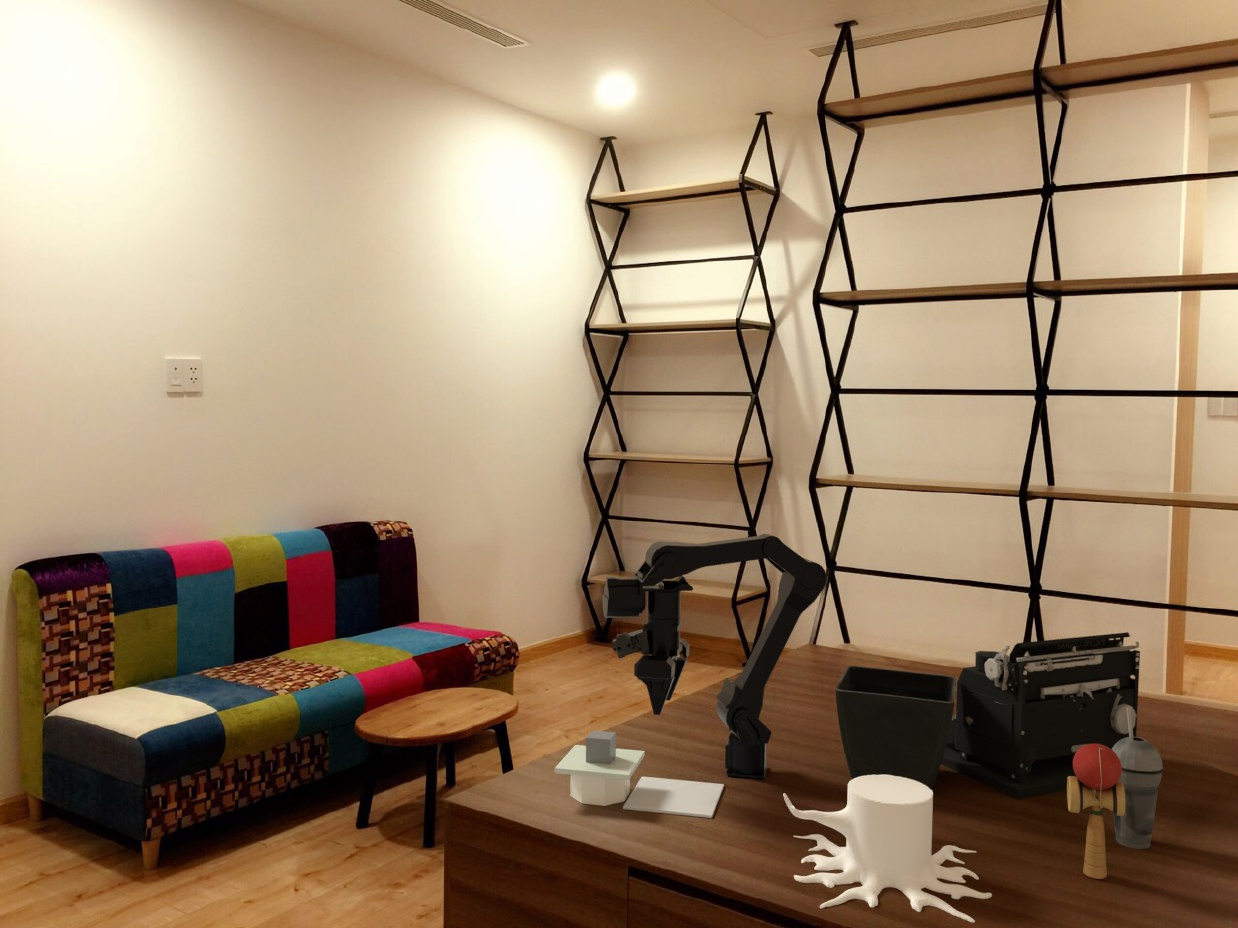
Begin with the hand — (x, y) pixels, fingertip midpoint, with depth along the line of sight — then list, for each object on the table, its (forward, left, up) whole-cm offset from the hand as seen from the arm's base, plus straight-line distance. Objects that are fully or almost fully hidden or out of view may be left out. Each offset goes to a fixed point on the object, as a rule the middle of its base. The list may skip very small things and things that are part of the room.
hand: (662, 707), depth 174 cm
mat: (-4, +9, -12) cm, 16 cm away
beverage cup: (-72, +9, -12) cm, 74 cm away
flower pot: (-39, -10, -12) cm, 42 cm away
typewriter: (-62, -25, -12) cm, 68 cm away
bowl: (+8, +11, -12) cm, 18 cm away
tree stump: (-36, +26, -13) cm, 47 cm away
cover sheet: (+8, +11, -7) cm, 15 cm away
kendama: (-64, +22, -12) cm, 69 cm away
